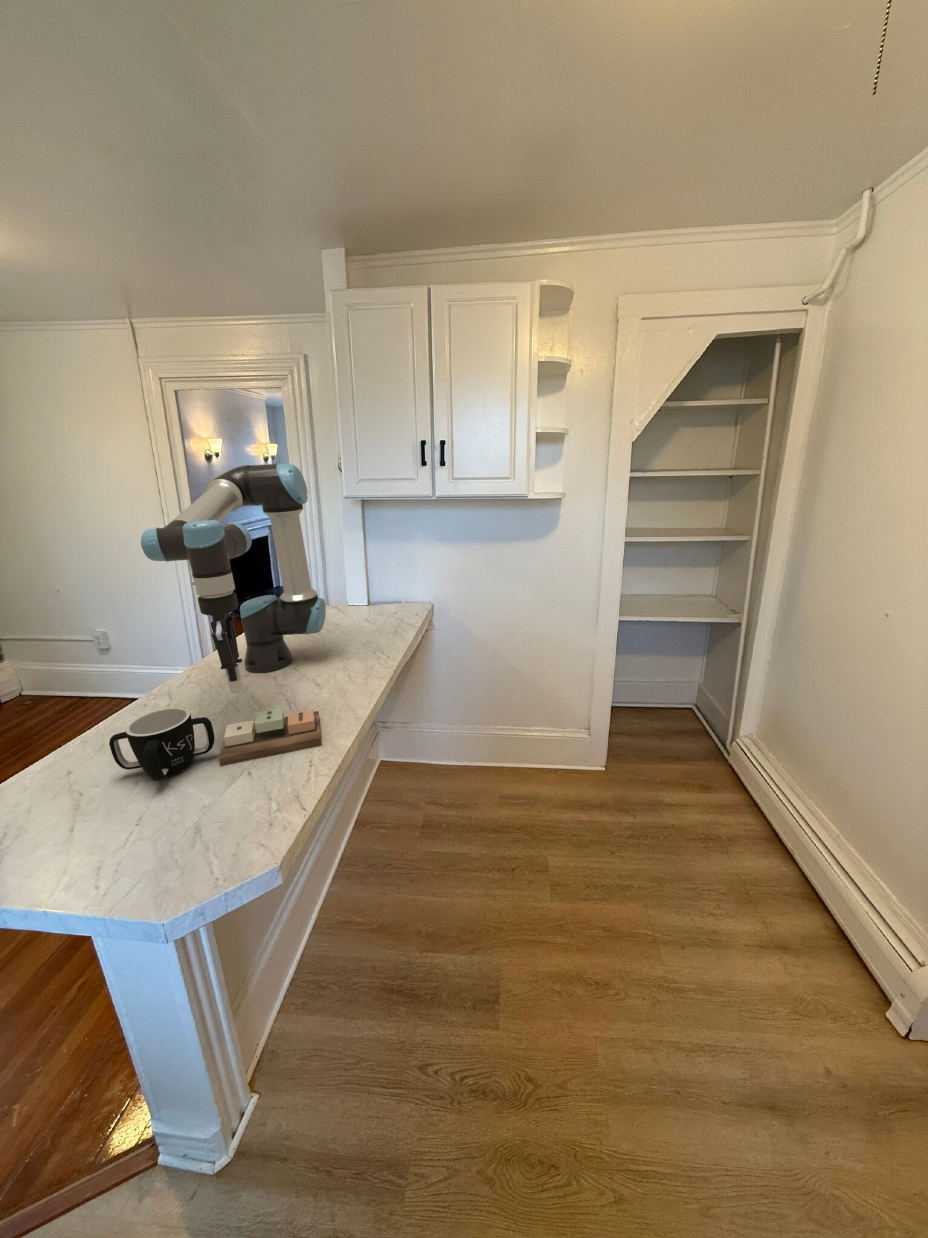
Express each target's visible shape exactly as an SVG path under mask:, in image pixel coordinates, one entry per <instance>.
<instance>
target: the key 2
mask: <svg viewBox="0 0 928 1238" xmlns="http://www.w3.org/2000/svg"><path fill="white" fill-rule="evenodd" d="M255 716H256V717H255V720H254V723H255V728H256V733H260V732H265V731H271V730H276V729H281V728H284V717H285V712H284V708H283V707H277V708H273V709H268V710H267V709H266V710H261V711H257V712H256V715H255Z"/></svg>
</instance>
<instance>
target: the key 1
mask: <svg viewBox="0 0 928 1238" xmlns="http://www.w3.org/2000/svg"><path fill="white" fill-rule="evenodd" d="M255 730H256V728H255V720H253V719H252V720H247V721H243V722H237V723H236V722H235V723H231V724H227V725H226V729H225V731H224V736H223V741H225V746H232V745H237V744H242V743H247V742H252V741H254V736H255Z"/></svg>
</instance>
